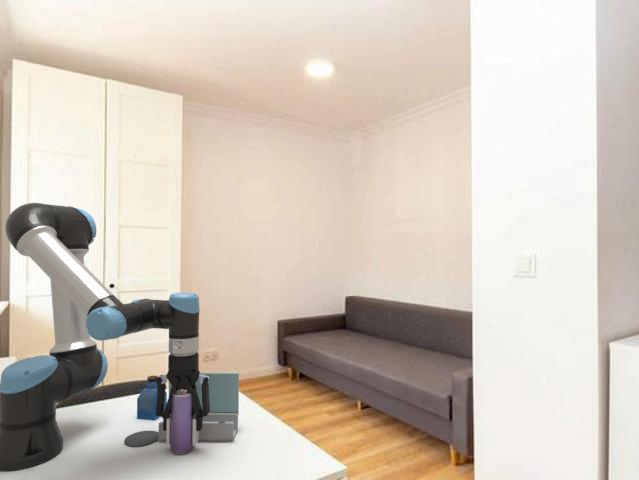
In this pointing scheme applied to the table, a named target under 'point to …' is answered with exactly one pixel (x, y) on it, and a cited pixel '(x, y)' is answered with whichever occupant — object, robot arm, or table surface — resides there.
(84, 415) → the table surface
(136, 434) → the coaster
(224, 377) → the cover
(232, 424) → the grey rectangular tray
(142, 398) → the perfume bottle
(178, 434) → the beverage can
